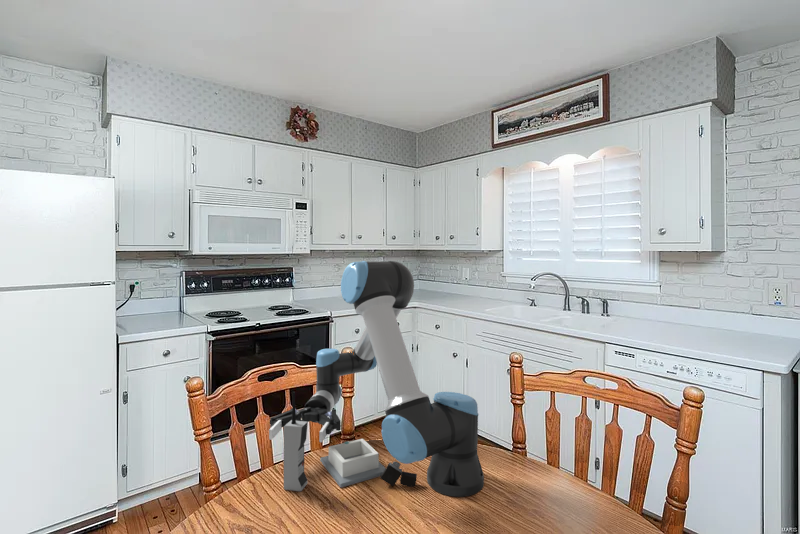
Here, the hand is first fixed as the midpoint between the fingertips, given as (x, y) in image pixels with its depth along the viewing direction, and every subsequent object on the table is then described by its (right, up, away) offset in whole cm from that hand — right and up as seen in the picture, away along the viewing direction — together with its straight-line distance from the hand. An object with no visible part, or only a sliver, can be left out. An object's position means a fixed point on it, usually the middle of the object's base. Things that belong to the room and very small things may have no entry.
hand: (295, 435), depth 107 cm
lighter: (+27, -13, +1) cm, 30 cm away
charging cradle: (+14, -13, +9) cm, 21 cm away
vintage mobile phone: (0, -13, -1) cm, 13 cm away
